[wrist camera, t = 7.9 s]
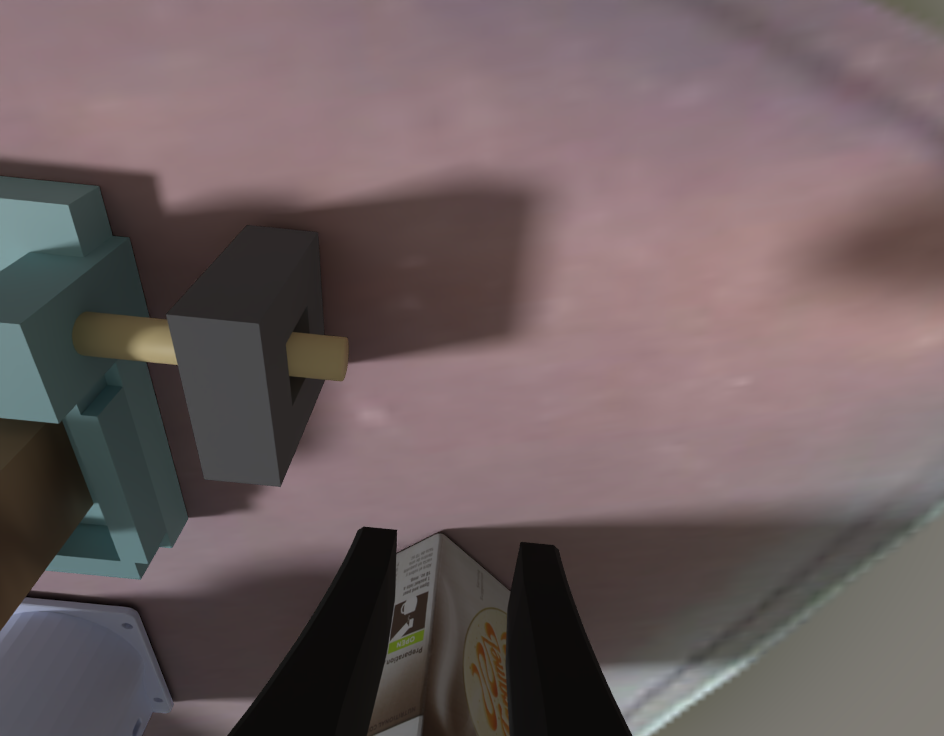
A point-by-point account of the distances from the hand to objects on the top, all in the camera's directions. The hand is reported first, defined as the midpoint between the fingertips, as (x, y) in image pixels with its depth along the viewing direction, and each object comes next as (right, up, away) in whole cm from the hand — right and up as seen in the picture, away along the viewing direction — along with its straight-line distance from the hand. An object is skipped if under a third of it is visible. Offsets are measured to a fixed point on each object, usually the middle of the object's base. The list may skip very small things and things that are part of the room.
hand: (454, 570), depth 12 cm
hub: (-5, +6, +8) cm, 11 cm away
